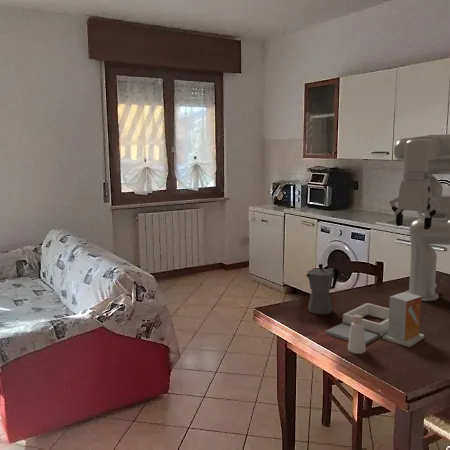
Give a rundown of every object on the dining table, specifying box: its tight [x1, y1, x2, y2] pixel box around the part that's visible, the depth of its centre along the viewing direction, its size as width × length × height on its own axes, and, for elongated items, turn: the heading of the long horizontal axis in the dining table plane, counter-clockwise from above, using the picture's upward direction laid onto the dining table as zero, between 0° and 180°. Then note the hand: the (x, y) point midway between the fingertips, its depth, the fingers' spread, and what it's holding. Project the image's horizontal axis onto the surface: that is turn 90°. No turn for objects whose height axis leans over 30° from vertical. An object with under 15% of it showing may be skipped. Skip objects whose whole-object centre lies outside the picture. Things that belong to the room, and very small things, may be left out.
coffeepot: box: [305, 263, 340, 315], centre depth 178 cm, size 15×9×18 cm, turn 119°
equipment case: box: [325, 302, 389, 346], centre depth 160 cm, size 26×14×4 cm, turn 133°
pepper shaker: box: [347, 315, 367, 355], centre depth 143 cm, size 5×5×11 cm
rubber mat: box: [382, 332, 425, 348], centre depth 152 cm, size 10×9×1 cm
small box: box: [387, 291, 422, 341], centre depth 151 cm, size 8×6×13 cm
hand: (413, 227), depth 162 cm, fingers open, 9 cm apart
